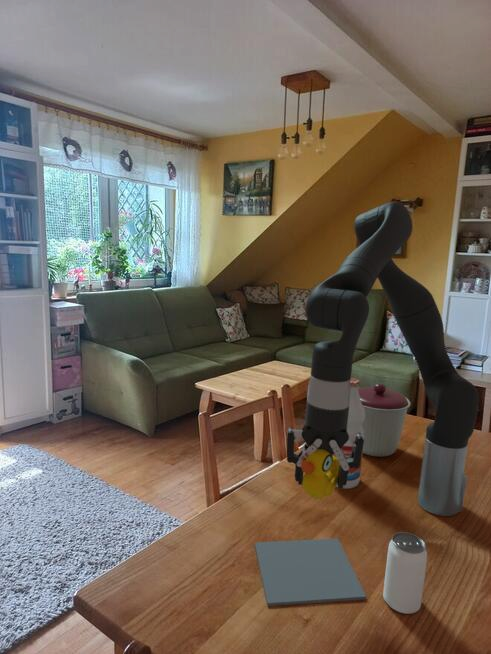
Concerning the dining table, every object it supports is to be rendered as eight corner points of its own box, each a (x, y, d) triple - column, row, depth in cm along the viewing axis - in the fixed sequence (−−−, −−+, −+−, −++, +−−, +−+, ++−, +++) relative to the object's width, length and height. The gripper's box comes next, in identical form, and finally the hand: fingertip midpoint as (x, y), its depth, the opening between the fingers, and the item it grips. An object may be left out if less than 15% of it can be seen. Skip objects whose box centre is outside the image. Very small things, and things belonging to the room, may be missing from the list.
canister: (357, 431, 153) (362, 371, 149) (412, 447, 143) (419, 383, 139) (333, 450, 139) (339, 384, 135) (393, 470, 129) (401, 399, 124)
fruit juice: (345, 468, 128) (354, 373, 123) (367, 485, 120) (377, 384, 114) (317, 474, 125) (324, 376, 119) (336, 492, 116) (345, 387, 111)
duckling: (311, 514, 80) (316, 461, 78) (287, 500, 84) (291, 450, 82) (346, 490, 88) (351, 442, 86) (322, 479, 92) (327, 433, 90)
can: (377, 587, 85) (383, 530, 83) (411, 586, 86) (418, 529, 83) (391, 616, 79) (398, 555, 77) (427, 615, 80) (435, 554, 77)
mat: (337, 540, 98) (337, 538, 98) (365, 599, 82) (366, 596, 82) (254, 545, 96) (254, 542, 96) (267, 606, 80) (267, 603, 80)
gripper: (288, 404, 79) (281, 492, 82) (373, 411, 78) (362, 499, 81) (287, 390, 86) (281, 471, 89) (364, 396, 85) (355, 477, 89)
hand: (320, 484), depth 85 cm, fingers closed on duckling, 7 cm apart
